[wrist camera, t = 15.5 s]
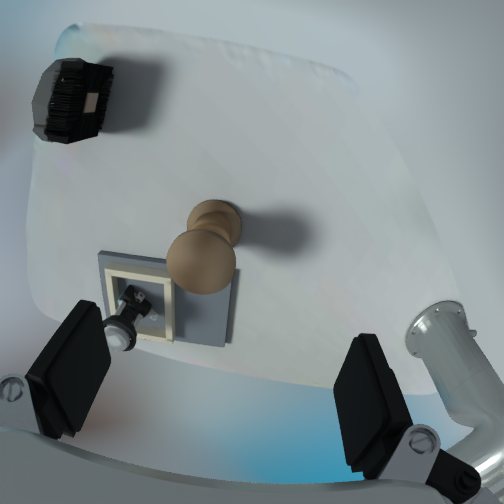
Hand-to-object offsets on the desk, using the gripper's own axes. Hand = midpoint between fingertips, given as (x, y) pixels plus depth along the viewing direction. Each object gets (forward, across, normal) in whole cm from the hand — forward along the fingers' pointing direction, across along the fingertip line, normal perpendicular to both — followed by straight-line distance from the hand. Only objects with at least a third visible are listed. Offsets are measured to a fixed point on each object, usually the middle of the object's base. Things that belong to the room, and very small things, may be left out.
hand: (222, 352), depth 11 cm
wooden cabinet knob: (+30, +4, +7) cm, 31 cm away
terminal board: (+30, +11, +20) cm, 38 cm away
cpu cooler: (+30, +22, -9) cm, 38 cm away
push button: (+29, +14, +20) cm, 38 cm away
